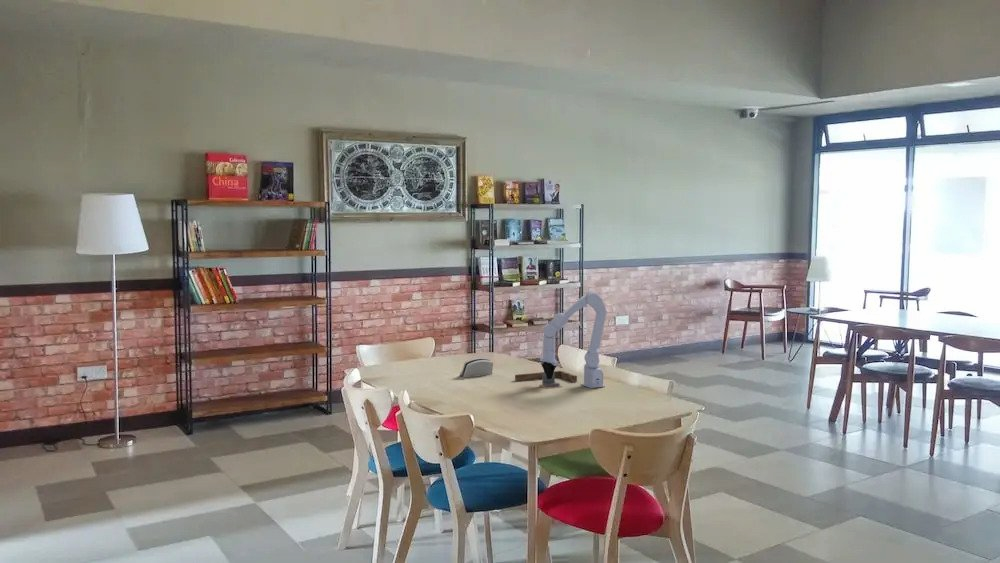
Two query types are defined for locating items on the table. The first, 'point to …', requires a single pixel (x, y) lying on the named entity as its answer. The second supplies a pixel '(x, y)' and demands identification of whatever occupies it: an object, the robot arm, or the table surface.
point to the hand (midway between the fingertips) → (548, 378)
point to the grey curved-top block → (477, 367)
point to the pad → (550, 387)
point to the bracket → (549, 380)
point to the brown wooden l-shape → (539, 376)
